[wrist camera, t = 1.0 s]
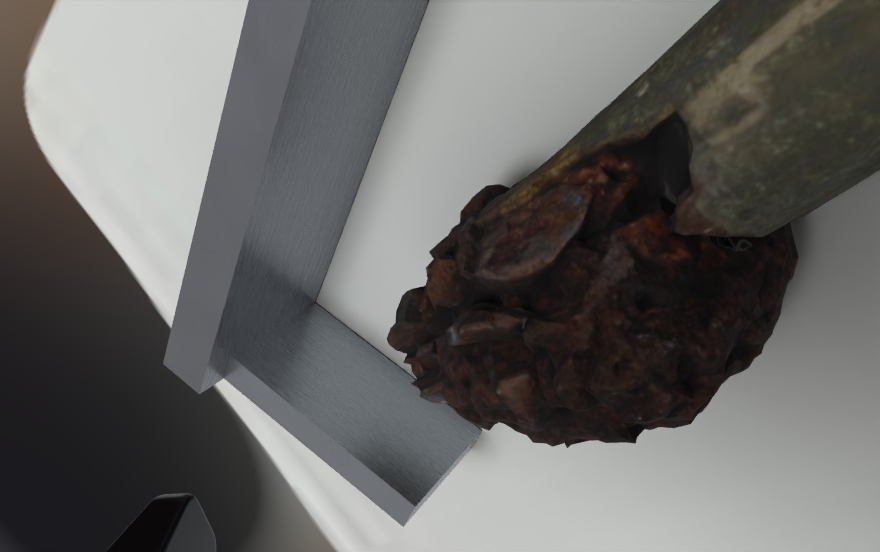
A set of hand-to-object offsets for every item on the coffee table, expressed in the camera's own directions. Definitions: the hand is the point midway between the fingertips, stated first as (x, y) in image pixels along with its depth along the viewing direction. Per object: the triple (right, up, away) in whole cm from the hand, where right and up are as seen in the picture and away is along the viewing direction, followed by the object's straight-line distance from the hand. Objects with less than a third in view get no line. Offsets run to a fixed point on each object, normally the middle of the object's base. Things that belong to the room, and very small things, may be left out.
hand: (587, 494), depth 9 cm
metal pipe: (+5, +5, +9) cm, 12 cm away
